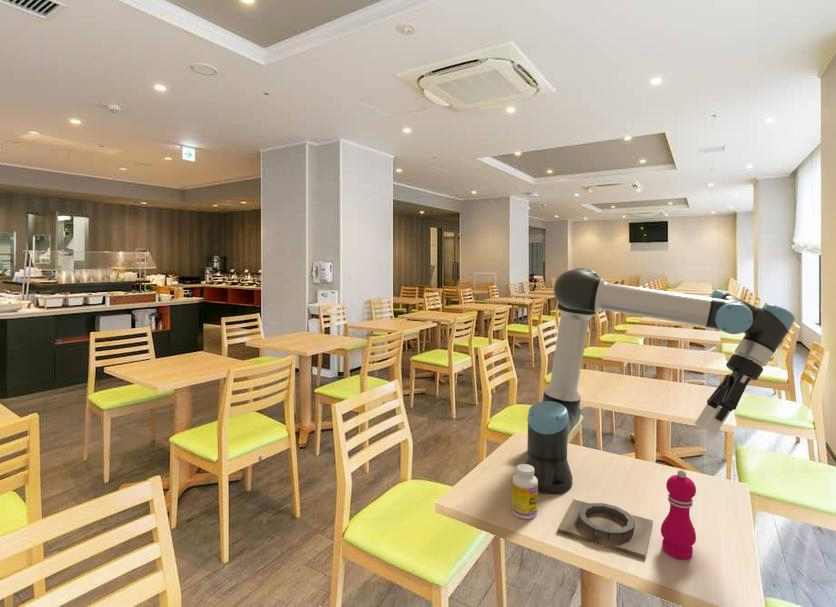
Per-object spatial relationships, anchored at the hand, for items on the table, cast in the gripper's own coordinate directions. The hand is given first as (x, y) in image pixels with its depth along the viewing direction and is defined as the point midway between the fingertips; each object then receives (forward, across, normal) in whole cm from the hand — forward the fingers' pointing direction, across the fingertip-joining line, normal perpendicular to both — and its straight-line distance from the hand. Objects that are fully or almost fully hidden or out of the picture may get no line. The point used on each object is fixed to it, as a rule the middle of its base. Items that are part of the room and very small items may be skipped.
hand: (704, 429), depth 124 cm
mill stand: (+35, -10, +8) cm, 37 cm away
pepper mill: (+29, -13, -6) cm, 32 cm away
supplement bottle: (+45, -10, +26) cm, 53 cm away
